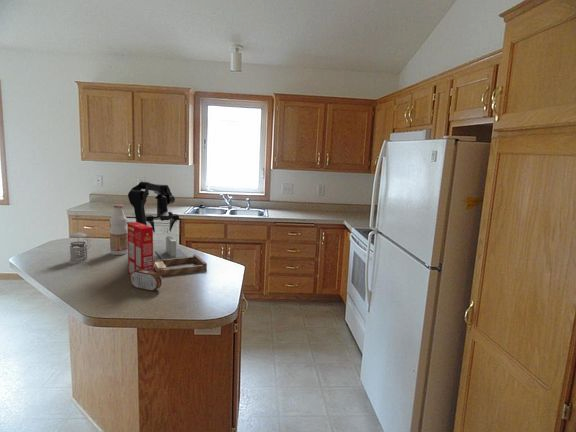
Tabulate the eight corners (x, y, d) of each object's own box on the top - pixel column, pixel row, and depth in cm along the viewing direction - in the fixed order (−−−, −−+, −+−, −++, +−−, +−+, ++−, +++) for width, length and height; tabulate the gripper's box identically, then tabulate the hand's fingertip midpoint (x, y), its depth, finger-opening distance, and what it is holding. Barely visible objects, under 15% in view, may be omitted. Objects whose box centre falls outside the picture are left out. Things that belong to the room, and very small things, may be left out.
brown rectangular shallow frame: (163, 276, 183) (163, 268, 183) (155, 265, 198) (155, 258, 198) (206, 270, 194) (206, 263, 193) (196, 261, 209) (196, 254, 209)
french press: (63, 261, 197) (61, 214, 193) (83, 256, 208) (81, 211, 203) (77, 264, 193) (75, 216, 189) (96, 259, 204) (94, 213, 200)
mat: (162, 260, 208) (162, 259, 208) (155, 252, 223) (155, 250, 223) (187, 257, 215) (187, 256, 215) (179, 250, 230) (179, 248, 230)
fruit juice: (108, 255, 212) (107, 206, 207) (112, 251, 221) (111, 203, 216) (126, 255, 214) (125, 206, 209) (129, 250, 223) (128, 204, 218)
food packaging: (153, 279, 178) (152, 227, 174) (142, 281, 175) (141, 228, 170) (138, 271, 188) (138, 222, 184) (128, 273, 184) (127, 223, 180)
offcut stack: (158, 275, 184) (158, 268, 184) (154, 267, 196) (154, 261, 195) (167, 274, 186) (167, 267, 186) (162, 267, 198) (162, 260, 197)
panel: (171, 256, 213) (171, 241, 211) (166, 251, 223) (166, 236, 221) (176, 256, 214) (176, 240, 213) (171, 250, 224) (171, 236, 223)
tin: (162, 290, 165) (162, 272, 163) (157, 293, 162) (157, 274, 161) (134, 285, 170) (133, 267, 168) (129, 287, 167) (128, 269, 165)
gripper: (148, 208, 209) (148, 236, 211) (181, 207, 218) (181, 233, 221) (144, 205, 218) (144, 232, 221) (176, 204, 228) (176, 230, 230)
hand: (162, 232), depth 223 cm, fingers open, 9 cm apart
